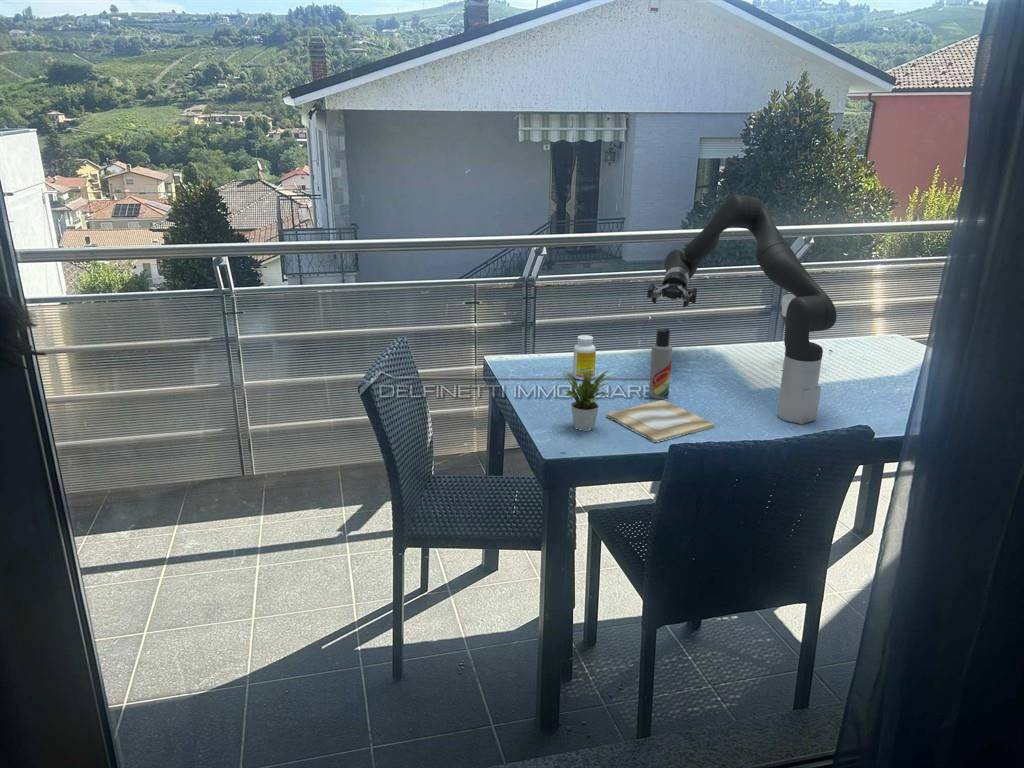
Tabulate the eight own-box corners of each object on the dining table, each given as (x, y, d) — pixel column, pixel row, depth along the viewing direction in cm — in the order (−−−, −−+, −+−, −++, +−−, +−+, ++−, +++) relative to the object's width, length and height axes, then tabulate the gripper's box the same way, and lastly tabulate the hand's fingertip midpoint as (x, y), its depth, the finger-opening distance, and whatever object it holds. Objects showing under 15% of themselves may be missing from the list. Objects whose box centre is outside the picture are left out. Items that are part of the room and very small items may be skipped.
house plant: (623, 436, 200) (627, 375, 194) (572, 442, 196) (574, 380, 190) (602, 416, 212) (604, 358, 207) (553, 421, 209) (555, 362, 203)
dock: (714, 427, 206) (714, 423, 205) (655, 443, 196) (656, 439, 195) (662, 403, 222) (662, 399, 221) (605, 417, 212) (606, 413, 211)
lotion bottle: (668, 400, 224) (673, 332, 217) (648, 398, 225) (652, 331, 218) (668, 393, 229) (674, 327, 222) (648, 391, 230) (653, 325, 223)
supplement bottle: (598, 379, 240) (600, 339, 236) (579, 382, 238) (580, 341, 233) (588, 372, 246) (589, 333, 242) (569, 375, 244) (570, 335, 239)
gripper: (653, 268, 241) (646, 287, 228) (700, 273, 238) (696, 293, 224) (651, 291, 245) (643, 311, 231) (697, 296, 241) (693, 317, 228)
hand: (669, 302), depth 228 cm, fingers open, 8 cm apart
